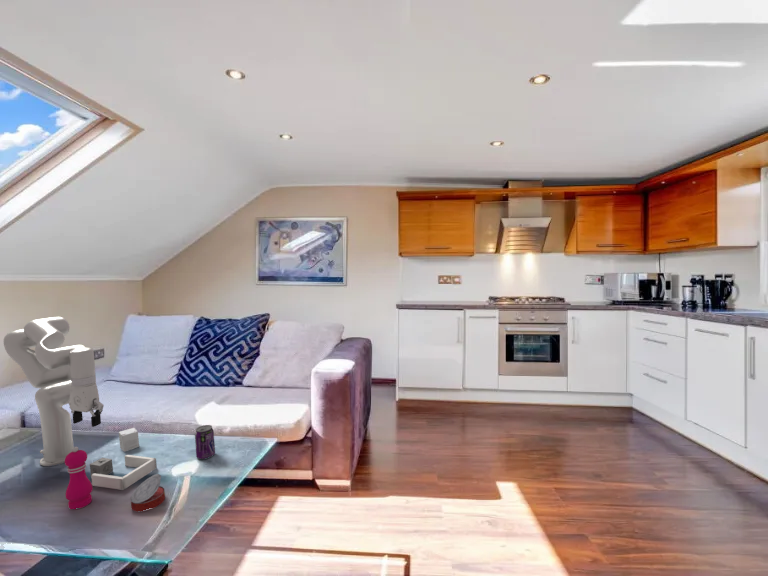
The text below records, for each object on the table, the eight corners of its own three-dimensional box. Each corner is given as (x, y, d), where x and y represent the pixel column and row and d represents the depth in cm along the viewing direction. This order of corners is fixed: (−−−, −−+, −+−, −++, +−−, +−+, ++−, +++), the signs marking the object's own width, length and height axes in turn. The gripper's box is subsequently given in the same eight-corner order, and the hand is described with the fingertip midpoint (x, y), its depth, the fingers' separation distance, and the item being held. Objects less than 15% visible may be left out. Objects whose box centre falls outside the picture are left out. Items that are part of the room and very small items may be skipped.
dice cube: (100, 478, 150) (99, 465, 149) (90, 476, 151) (89, 464, 151) (113, 471, 155) (111, 459, 154) (103, 469, 156) (102, 457, 156)
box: (92, 485, 145) (91, 475, 145) (127, 464, 160) (127, 454, 159) (123, 490, 142) (122, 479, 141) (156, 468, 156) (156, 458, 156)
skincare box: (135, 442, 178) (134, 427, 178) (139, 447, 174) (138, 430, 174) (119, 447, 174) (118, 431, 173) (123, 452, 170) (121, 435, 169)
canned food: (161, 518, 133) (157, 501, 128) (127, 520, 131) (122, 503, 125) (171, 486, 142) (168, 469, 137) (140, 487, 140) (135, 470, 135)
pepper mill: (76, 498, 137) (71, 442, 136) (98, 496, 138) (93, 441, 136) (61, 511, 130) (55, 452, 129) (84, 509, 131) (79, 451, 129)
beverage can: (208, 461, 160) (206, 432, 159) (192, 459, 162) (190, 431, 161) (218, 452, 167) (217, 424, 166) (203, 451, 169) (201, 424, 168)
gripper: (57, 381, 151) (60, 425, 153) (90, 386, 146) (93, 430, 147) (77, 375, 158) (81, 417, 160) (109, 379, 153) (113, 422, 154)
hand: (87, 423), depth 153 cm, fingers open, 9 cm apart
